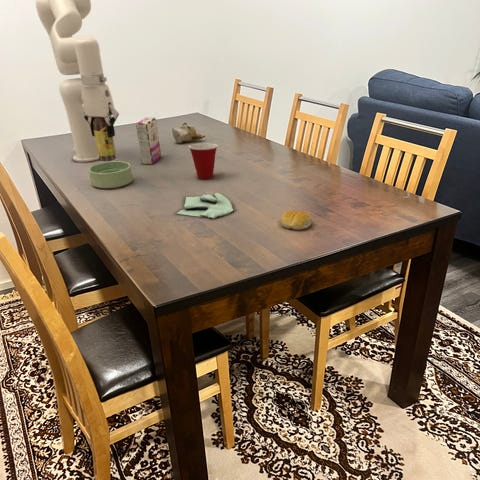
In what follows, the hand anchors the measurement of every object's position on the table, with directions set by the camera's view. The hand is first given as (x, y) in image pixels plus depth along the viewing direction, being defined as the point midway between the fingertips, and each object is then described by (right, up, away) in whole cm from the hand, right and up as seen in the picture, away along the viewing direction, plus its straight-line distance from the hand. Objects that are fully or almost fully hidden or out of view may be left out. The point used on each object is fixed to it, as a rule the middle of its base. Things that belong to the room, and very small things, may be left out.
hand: (103, 135), depth 172 cm
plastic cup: (+36, -12, +12) cm, 39 cm away
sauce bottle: (0, -7, +5) cm, 9 cm away
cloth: (+38, -29, -13) cm, 49 cm away
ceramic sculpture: (+24, +19, +58) cm, 65 cm away
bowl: (+1, -14, +10) cm, 17 cm away
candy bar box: (+11, +2, +33) cm, 35 cm away
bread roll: (+66, -38, -29) cm, 81 cm away
